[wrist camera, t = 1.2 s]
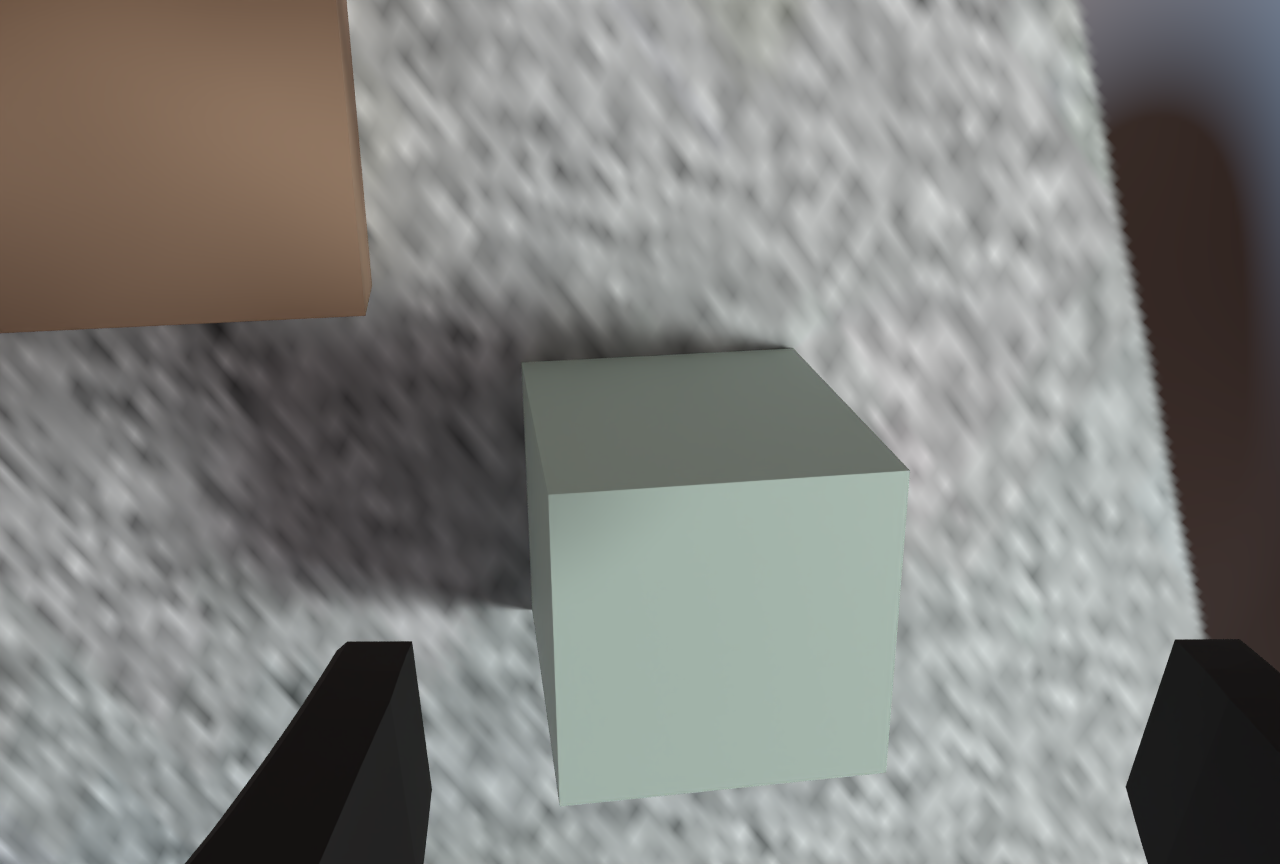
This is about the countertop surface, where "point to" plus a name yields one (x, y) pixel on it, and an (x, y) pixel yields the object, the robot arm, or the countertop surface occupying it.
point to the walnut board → (178, 164)
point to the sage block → (709, 573)
